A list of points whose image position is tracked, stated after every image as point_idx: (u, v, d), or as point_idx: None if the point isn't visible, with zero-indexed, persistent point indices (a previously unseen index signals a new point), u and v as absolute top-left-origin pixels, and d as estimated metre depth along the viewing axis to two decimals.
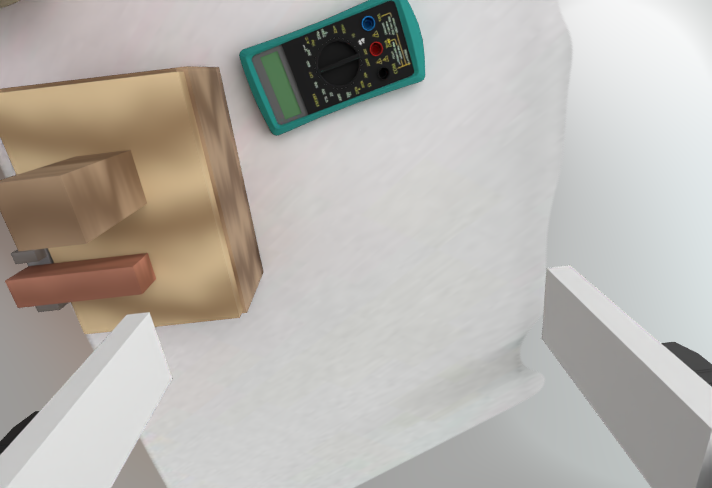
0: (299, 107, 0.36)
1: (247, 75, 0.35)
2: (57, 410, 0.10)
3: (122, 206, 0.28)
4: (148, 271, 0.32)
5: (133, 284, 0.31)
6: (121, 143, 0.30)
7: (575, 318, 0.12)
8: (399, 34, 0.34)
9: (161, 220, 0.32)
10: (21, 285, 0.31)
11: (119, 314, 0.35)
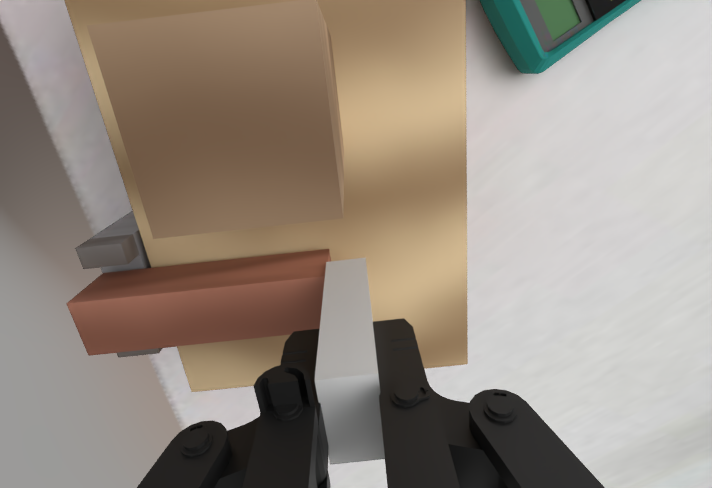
0: (577, 13, 0.21)
1: None
2: (335, 323, 0.12)
3: (340, 143, 0.13)
4: None
5: None
6: None
7: None
8: None
9: (365, 186, 0.17)
10: (99, 312, 0.15)
11: (257, 358, 0.20)
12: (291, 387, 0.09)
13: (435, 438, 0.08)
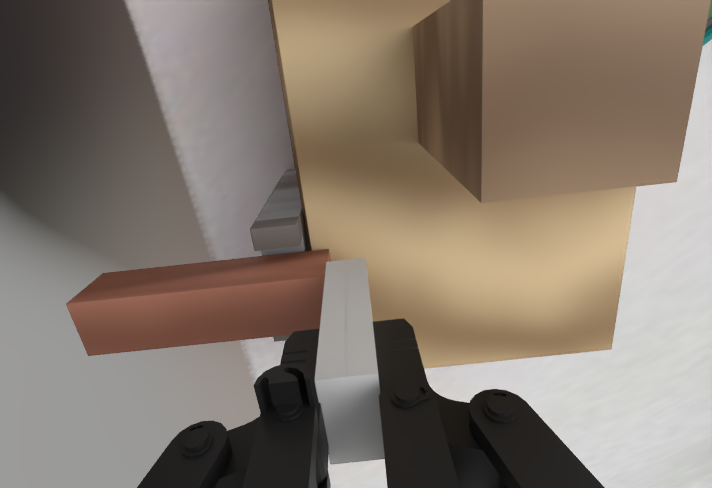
0: None
1: None
2: (335, 323, 0.12)
3: None
4: None
5: None
6: None
7: None
8: None
9: None
10: (98, 313, 0.15)
11: None
12: (291, 387, 0.09)
13: (435, 438, 0.08)
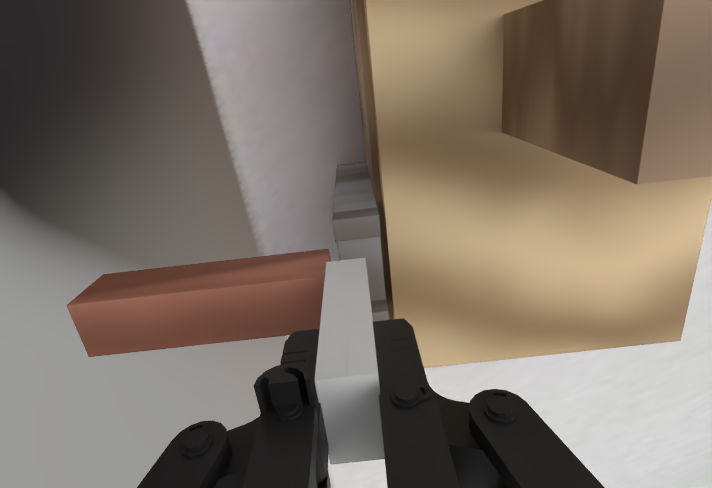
0: None
1: None
2: (335, 323, 0.12)
3: None
4: None
5: None
6: None
7: None
8: None
9: None
10: (99, 314, 0.15)
11: (472, 336, 0.19)
12: (291, 387, 0.09)
13: (435, 438, 0.08)
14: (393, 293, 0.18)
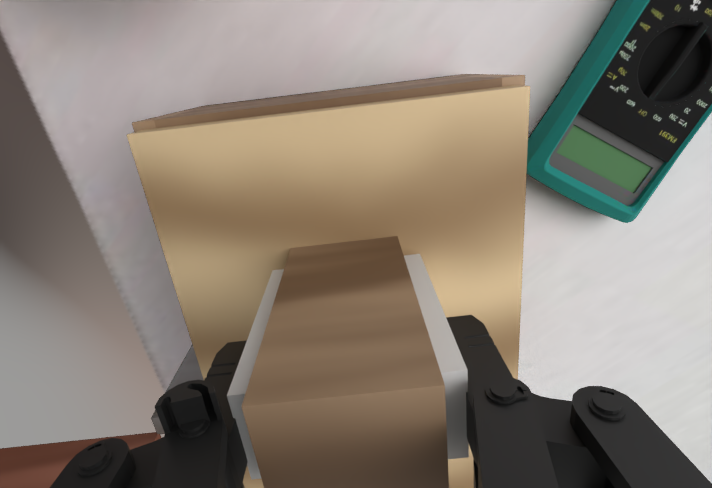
0: (645, 163, 0.22)
1: (555, 186, 0.22)
2: None
3: None
4: None
5: None
6: (382, 224, 0.15)
7: None
8: None
9: None
10: None
11: None
12: (196, 403, 0.09)
13: (533, 440, 0.08)
14: None
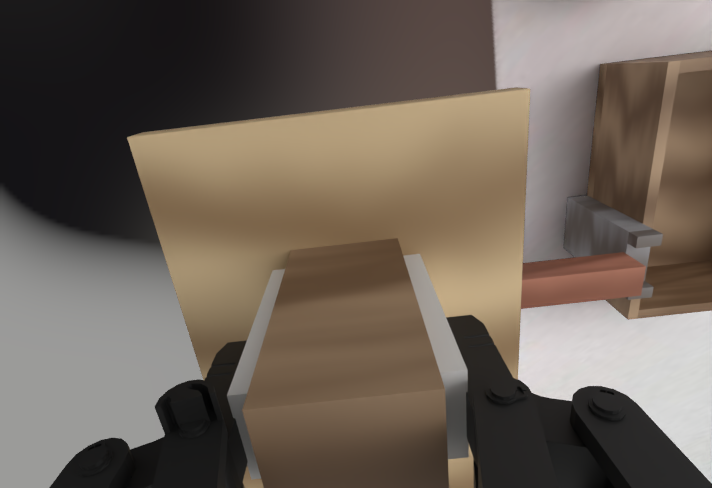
0: None
1: None
2: (263, 335, 0.12)
3: None
4: None
5: (637, 285, 0.29)
6: (383, 226, 0.15)
7: None
8: None
9: None
10: (522, 286, 0.29)
11: None
12: (196, 403, 0.09)
13: (533, 440, 0.08)
14: None
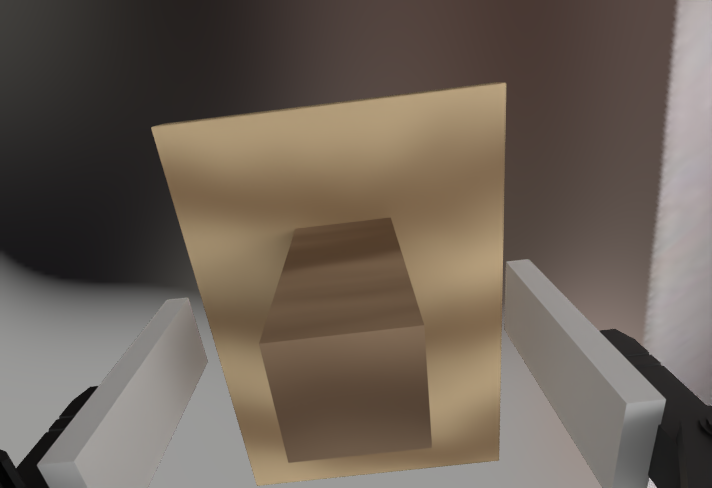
0: None
1: None
2: (117, 383, 0.10)
3: None
4: None
5: None
6: (377, 207, 0.17)
7: (528, 308, 0.12)
8: None
9: None
10: None
11: None
12: None
13: None
14: (240, 428, 0.22)
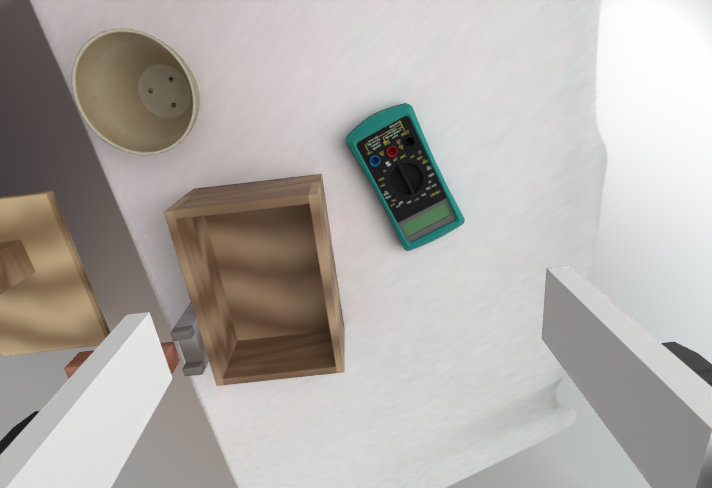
0: (441, 204, 0.45)
1: (421, 244, 0.46)
2: (57, 410, 0.10)
3: (11, 278, 0.45)
4: (174, 356, 0.41)
5: None
6: (14, 235, 0.46)
7: (575, 318, 0.12)
8: (379, 134, 0.42)
9: (46, 282, 0.48)
10: None
11: (25, 343, 0.52)
12: None
13: None
14: None
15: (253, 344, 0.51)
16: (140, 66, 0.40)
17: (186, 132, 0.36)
